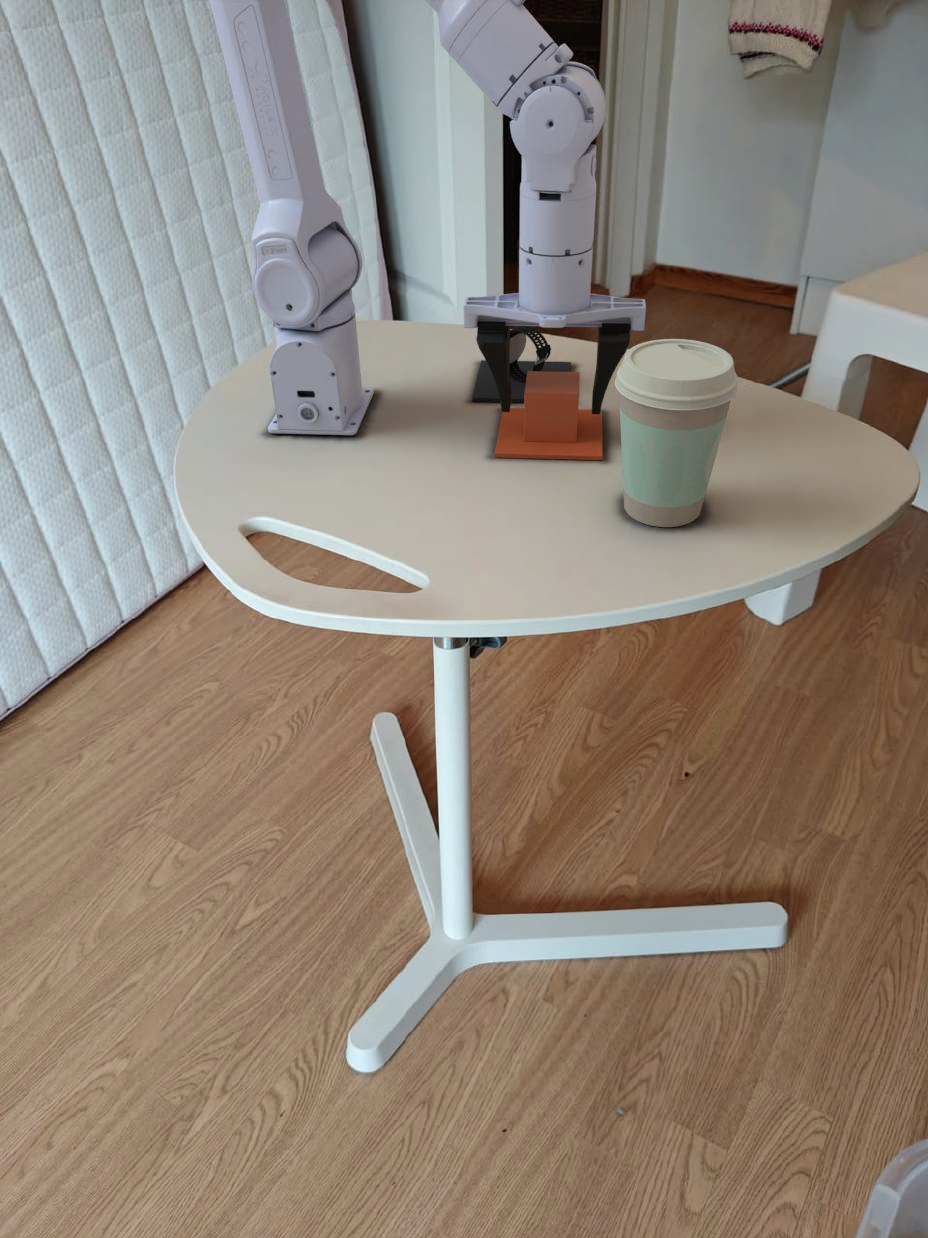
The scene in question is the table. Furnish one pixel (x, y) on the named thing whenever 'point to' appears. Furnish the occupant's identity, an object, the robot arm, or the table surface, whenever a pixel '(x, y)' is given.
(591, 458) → the terracotta mat
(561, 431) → the terracotta block
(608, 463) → the table surface
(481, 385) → the dark mat
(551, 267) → the robot arm
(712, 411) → the coffee cup
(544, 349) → the smartwatch
